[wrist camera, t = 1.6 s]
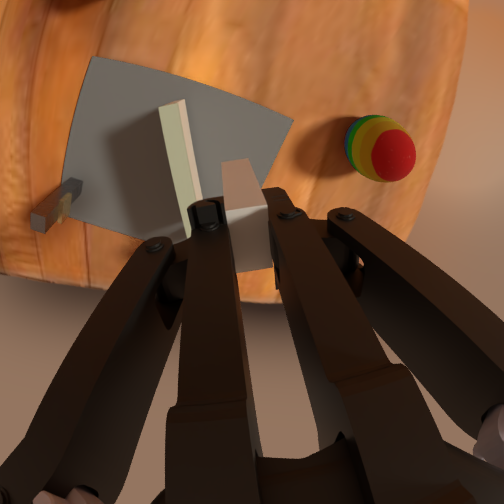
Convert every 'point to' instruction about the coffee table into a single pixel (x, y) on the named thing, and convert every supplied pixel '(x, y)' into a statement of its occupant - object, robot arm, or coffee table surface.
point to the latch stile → (56, 205)
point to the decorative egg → (380, 148)
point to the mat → (157, 146)
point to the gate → (181, 157)
